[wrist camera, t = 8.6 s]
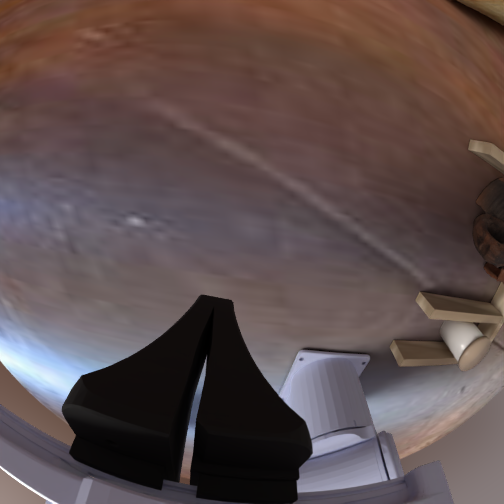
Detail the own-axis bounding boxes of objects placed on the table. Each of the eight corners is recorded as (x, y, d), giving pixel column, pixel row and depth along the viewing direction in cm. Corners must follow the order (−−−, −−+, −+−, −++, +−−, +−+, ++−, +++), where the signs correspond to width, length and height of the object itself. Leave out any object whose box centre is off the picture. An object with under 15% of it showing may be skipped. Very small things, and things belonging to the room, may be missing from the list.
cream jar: (454, 339, 25) (475, 369, 20) (432, 339, 25) (453, 372, 20) (472, 310, 23) (496, 338, 18) (450, 307, 23) (476, 339, 18)
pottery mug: (515, 168, 17) (563, 223, 12) (482, 229, 24) (519, 280, 19) (467, 175, 15) (536, 255, 10) (426, 254, 22) (471, 323, 17)
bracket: (467, 347, 26) (478, 361, 23) (389, 346, 25) (399, 366, 22) (535, 191, 17) (552, 199, 14) (470, 139, 16) (492, 143, 13)
